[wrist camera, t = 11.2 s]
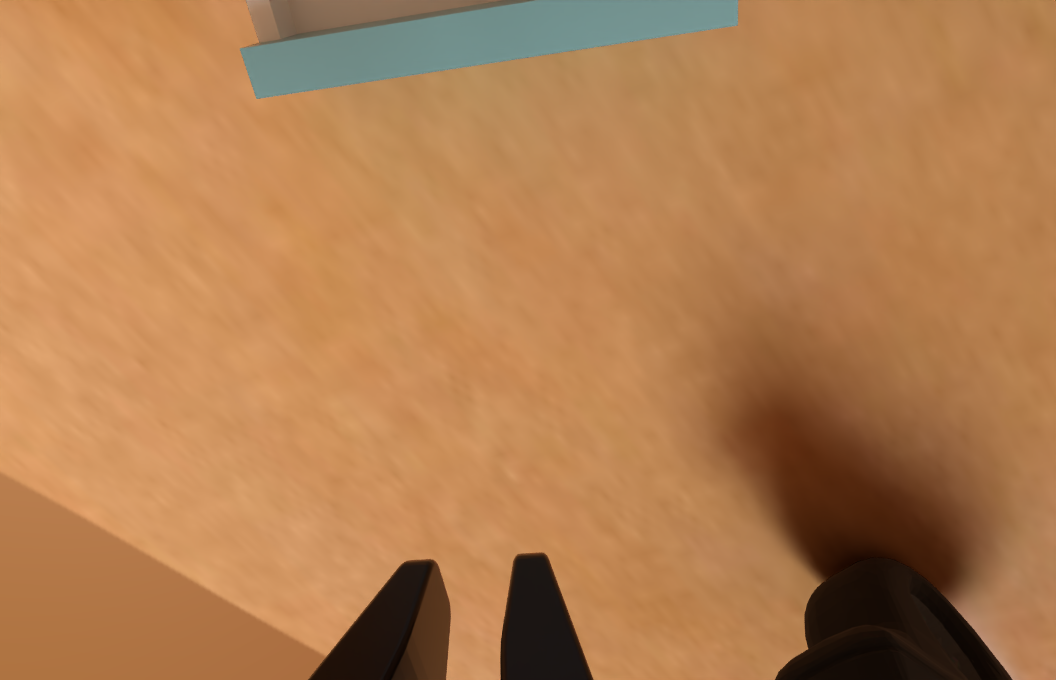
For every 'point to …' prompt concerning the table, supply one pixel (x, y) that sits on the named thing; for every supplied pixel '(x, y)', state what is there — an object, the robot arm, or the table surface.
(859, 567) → the controller
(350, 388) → the table surface
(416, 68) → the tray
